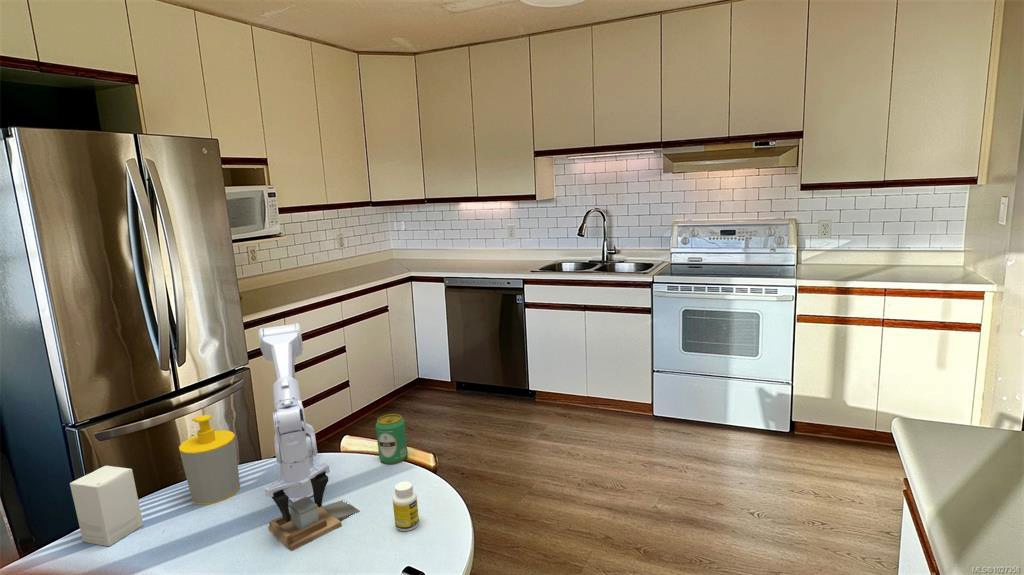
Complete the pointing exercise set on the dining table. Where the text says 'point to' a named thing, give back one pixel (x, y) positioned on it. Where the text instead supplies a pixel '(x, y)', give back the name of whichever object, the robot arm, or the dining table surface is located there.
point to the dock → (326, 523)
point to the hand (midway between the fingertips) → (303, 512)
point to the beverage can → (391, 438)
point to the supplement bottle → (405, 507)
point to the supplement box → (106, 505)
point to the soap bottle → (210, 463)
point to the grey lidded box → (303, 513)
